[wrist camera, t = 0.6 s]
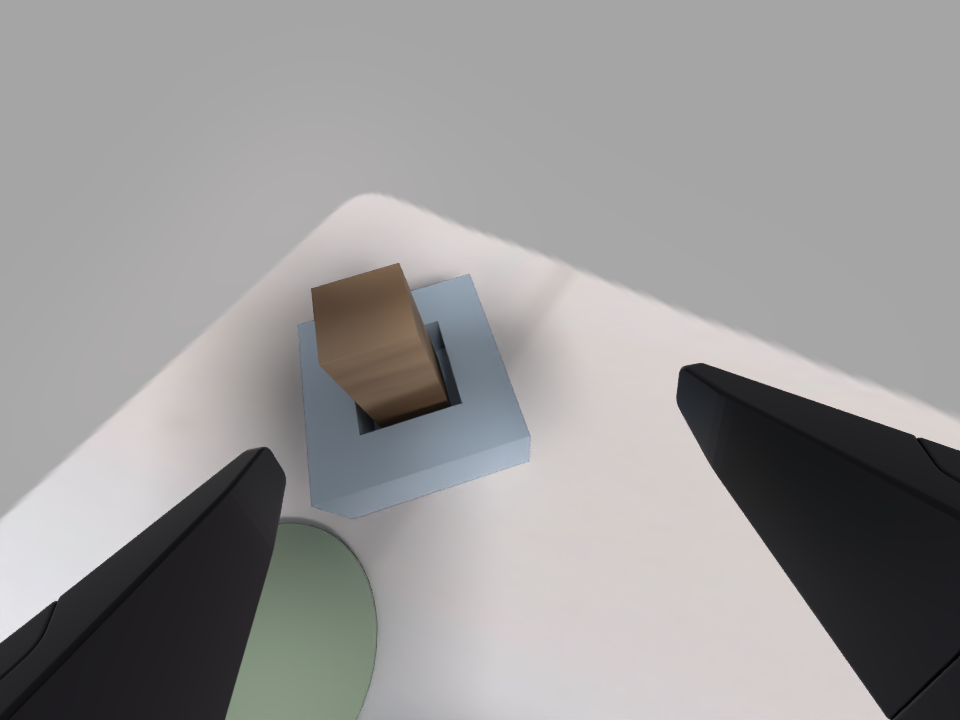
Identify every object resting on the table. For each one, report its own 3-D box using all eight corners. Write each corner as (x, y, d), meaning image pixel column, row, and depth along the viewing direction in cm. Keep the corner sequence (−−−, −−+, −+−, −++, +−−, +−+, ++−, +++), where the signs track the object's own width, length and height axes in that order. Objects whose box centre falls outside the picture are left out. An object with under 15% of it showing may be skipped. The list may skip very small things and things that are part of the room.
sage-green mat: (343, 838, 17) (339, 844, 16) (101, 788, 18) (93, 792, 18) (397, 533, 22) (395, 532, 22) (208, 515, 24) (204, 514, 24)
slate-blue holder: (529, 461, 23) (530, 435, 19) (352, 519, 23) (311, 506, 19) (477, 318, 29) (469, 273, 24) (333, 363, 28) (298, 325, 24)
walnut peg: (453, 415, 23) (417, 334, 15) (389, 435, 23) (318, 364, 15) (438, 359, 25) (399, 262, 17) (378, 377, 25) (311, 288, 17)
